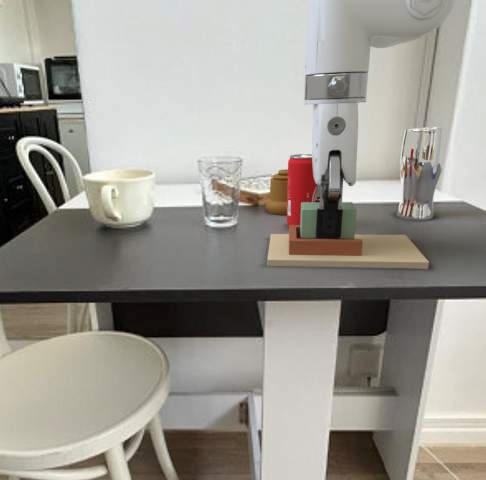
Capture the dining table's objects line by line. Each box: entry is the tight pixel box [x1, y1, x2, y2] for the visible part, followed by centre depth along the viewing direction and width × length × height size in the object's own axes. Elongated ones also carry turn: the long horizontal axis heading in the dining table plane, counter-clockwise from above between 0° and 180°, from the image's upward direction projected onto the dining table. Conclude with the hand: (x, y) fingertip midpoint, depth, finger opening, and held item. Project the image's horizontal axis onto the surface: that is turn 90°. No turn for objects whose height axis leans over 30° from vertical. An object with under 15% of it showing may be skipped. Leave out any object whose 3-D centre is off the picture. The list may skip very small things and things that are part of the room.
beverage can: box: [286, 153, 317, 227], centre depth 72 cm, size 5×5×12 cm
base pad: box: [266, 225, 430, 270], centre depth 61 cm, size 20×12×3 cm, turn 80°
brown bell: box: [265, 168, 288, 216], centre depth 85 cm, size 8×8×8 cm
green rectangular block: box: [300, 201, 357, 239], centre depth 60 cm, size 7×4×4 cm, turn 81°
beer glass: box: [395, 126, 449, 221], centre depth 76 cm, size 7×7×15 cm
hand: (326, 231), depth 61 cm, fingers closed on green rectangular block, 4 cm apart
